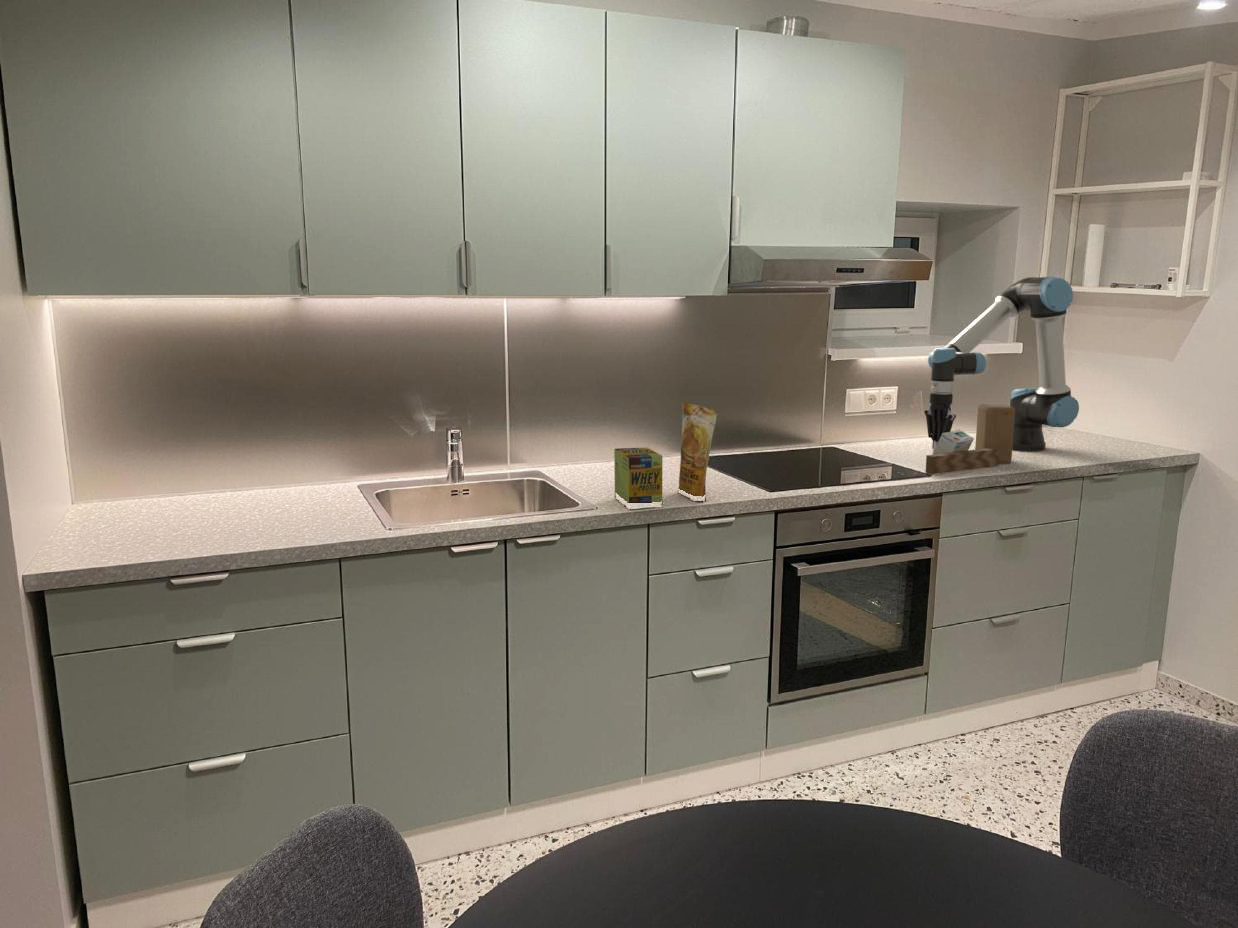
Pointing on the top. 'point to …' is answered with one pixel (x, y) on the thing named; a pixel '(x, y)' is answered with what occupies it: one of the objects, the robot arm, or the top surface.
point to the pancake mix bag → (695, 447)
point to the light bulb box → (953, 442)
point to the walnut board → (962, 460)
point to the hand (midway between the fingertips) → (936, 458)
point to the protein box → (638, 475)
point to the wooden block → (996, 429)
